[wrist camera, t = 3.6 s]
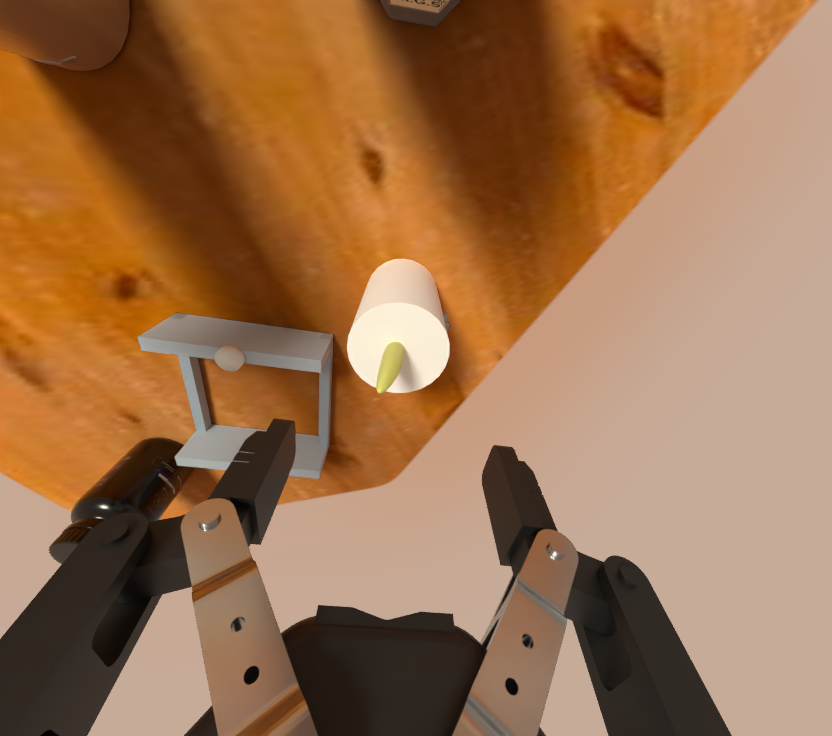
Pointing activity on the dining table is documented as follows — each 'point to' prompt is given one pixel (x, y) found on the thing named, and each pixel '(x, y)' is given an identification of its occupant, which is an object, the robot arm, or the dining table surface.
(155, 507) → the supplement bottle
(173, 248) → the dining table surface
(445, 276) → the dining table surface
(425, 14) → the liquor
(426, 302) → the candle
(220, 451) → the holder
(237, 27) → the dining table surface
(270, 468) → the robot arm
